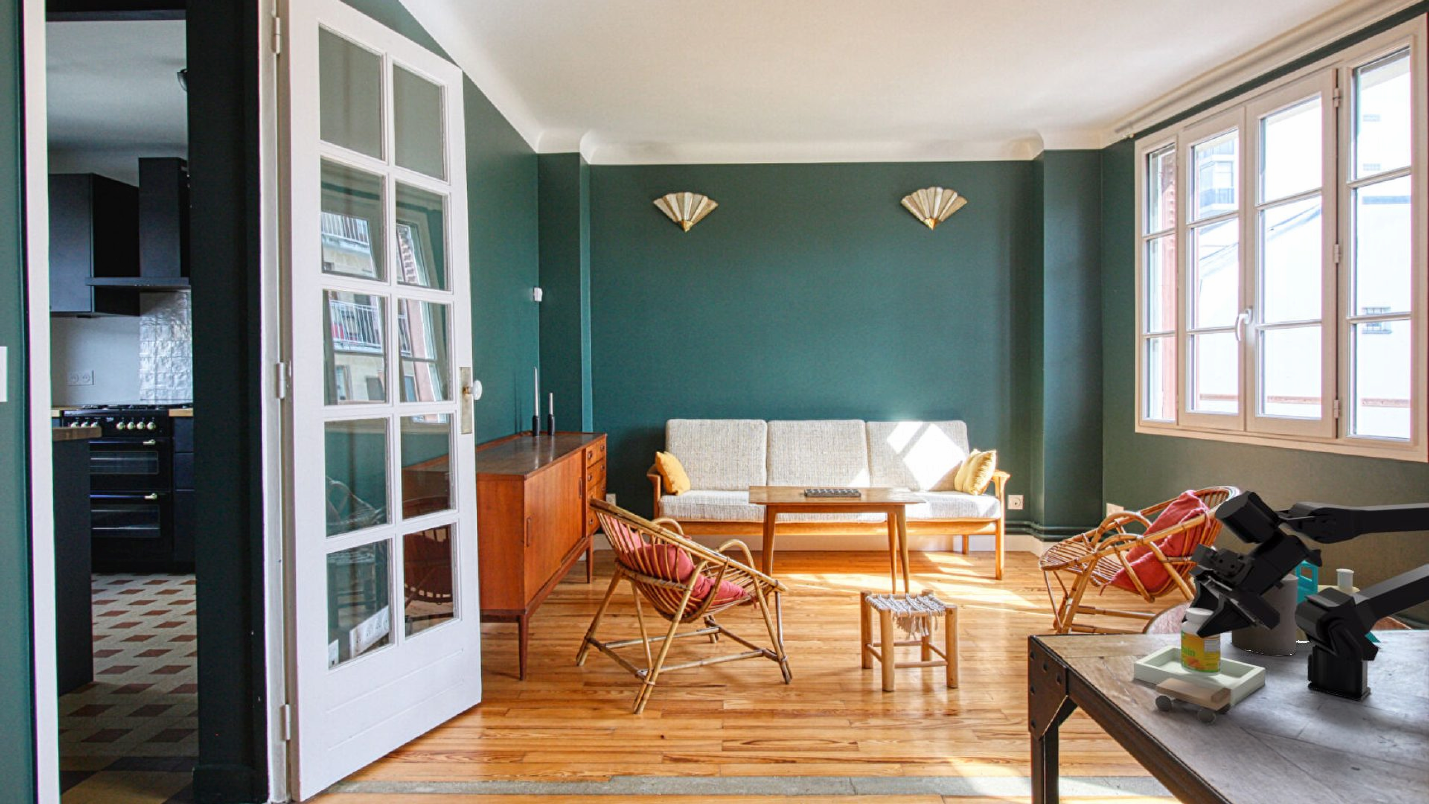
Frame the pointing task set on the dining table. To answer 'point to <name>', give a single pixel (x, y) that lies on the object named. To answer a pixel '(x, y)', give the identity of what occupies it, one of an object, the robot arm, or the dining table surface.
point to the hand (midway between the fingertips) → (1190, 630)
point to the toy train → (1312, 588)
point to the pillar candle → (1280, 636)
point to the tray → (1231, 675)
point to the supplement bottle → (1199, 645)
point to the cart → (1194, 698)
